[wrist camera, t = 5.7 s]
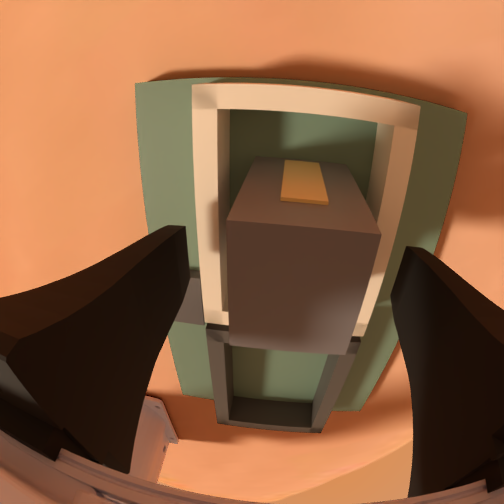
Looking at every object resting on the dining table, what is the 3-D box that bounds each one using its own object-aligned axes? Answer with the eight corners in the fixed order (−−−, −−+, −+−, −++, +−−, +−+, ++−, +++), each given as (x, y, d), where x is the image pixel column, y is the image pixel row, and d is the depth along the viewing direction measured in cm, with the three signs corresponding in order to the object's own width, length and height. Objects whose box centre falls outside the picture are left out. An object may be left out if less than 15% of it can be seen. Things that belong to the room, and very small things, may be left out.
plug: (331, 254, 13) (344, 354, 9) (252, 247, 13) (229, 345, 9) (346, 161, 11) (382, 230, 6) (256, 153, 11) (226, 216, 7)
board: (359, 400, 20) (361, 434, 18) (186, 383, 22) (175, 416, 19) (456, 109, 10) (494, 122, 7) (145, 81, 11) (108, 87, 9)
